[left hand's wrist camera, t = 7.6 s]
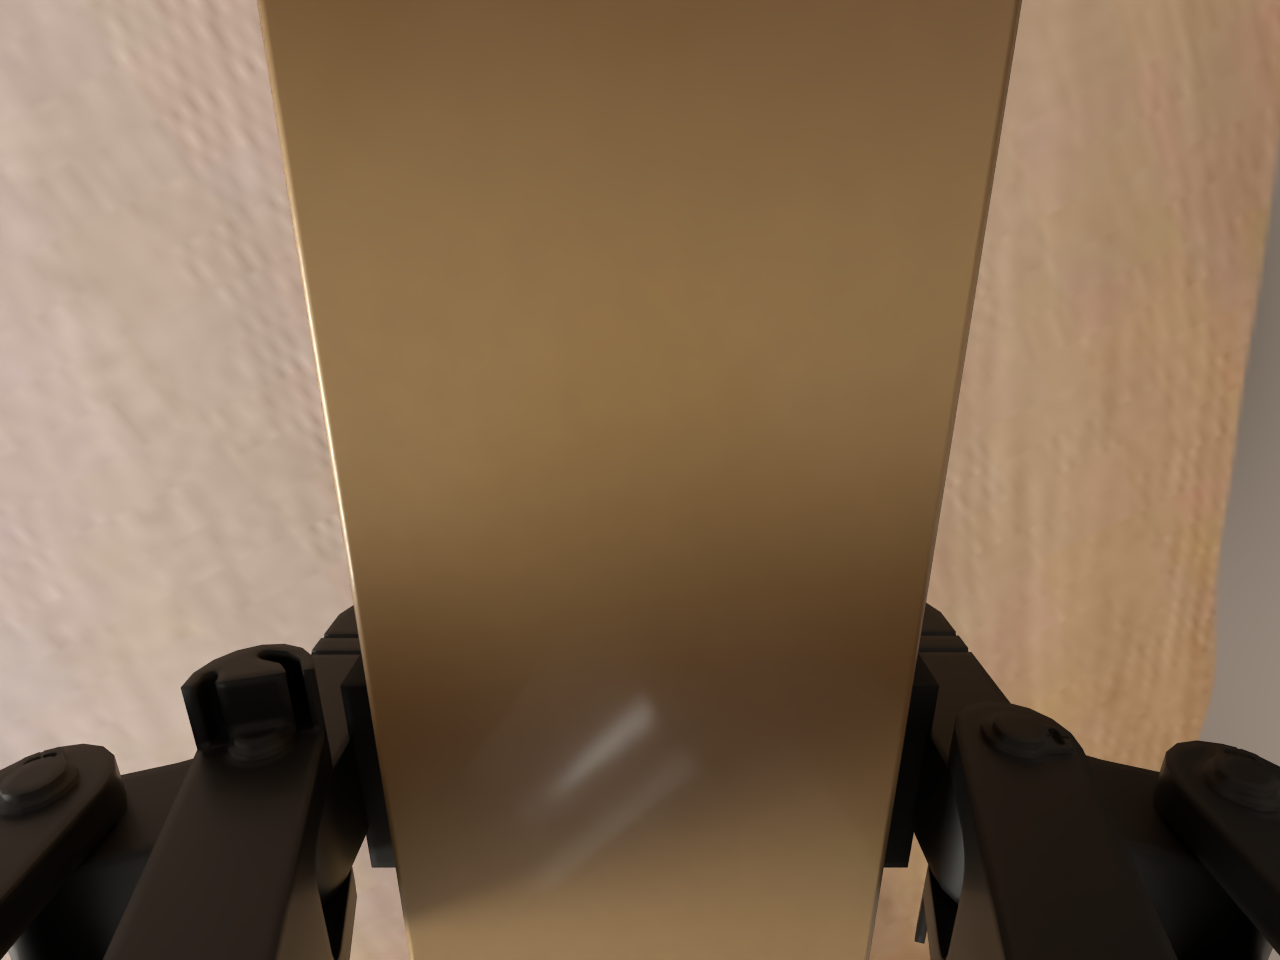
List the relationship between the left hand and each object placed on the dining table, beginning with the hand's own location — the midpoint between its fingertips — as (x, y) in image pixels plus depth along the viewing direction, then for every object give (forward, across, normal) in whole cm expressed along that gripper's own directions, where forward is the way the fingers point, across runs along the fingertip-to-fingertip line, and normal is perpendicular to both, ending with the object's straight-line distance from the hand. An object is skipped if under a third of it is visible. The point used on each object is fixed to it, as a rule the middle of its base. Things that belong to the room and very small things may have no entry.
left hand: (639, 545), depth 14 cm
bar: (+1, 0, -8) cm, 8 cm away
